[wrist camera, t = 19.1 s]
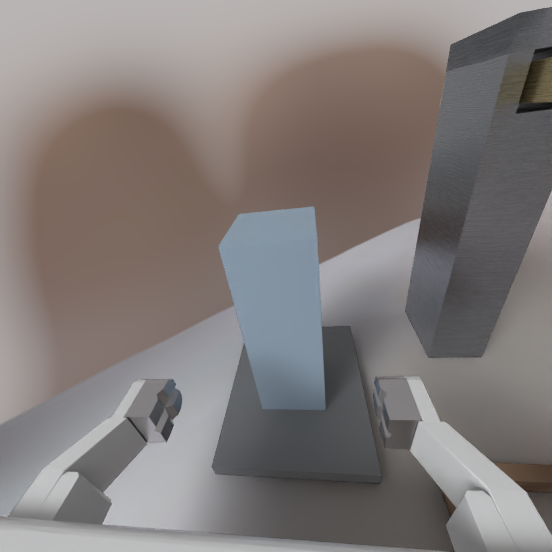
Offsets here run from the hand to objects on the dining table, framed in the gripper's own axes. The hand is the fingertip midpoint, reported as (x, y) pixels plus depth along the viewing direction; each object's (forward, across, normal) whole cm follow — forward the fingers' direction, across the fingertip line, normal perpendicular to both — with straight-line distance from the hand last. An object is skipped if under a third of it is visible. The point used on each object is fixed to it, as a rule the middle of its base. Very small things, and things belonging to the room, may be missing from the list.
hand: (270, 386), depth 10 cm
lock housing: (+12, -13, +10) cm, 20 cm away
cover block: (+6, 0, +8) cm, 11 cm away
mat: (+6, 0, +10) cm, 11 cm away
